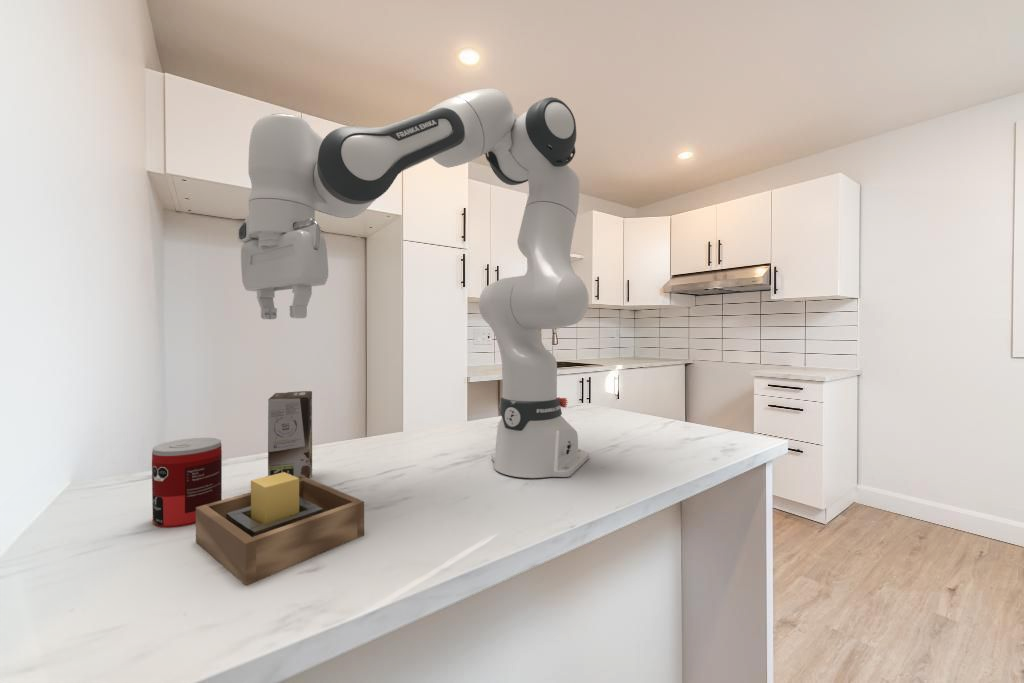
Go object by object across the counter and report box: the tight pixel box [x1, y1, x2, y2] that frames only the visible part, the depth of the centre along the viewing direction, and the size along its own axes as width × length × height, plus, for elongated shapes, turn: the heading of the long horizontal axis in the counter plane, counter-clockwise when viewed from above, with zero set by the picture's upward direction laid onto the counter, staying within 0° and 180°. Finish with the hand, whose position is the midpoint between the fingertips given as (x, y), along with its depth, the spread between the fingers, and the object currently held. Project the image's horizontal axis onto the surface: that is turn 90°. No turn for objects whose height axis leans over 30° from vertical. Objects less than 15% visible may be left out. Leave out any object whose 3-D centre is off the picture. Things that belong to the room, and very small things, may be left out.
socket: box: [226, 497, 323, 537], centre depth 53 cm, size 8×8×4 cm
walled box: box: [195, 477, 365, 587], centre depth 54 cm, size 14×15×5 cm
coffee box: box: [267, 390, 313, 480], centre depth 75 cm, size 9×6×16 cm
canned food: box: [151, 437, 223, 529], centre depth 60 cm, size 8×8×11 cm
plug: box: [250, 472, 299, 525], centre depth 53 cm, size 4×4×8 cm
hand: (282, 318), depth 64 cm, fingers open, 8 cm apart
